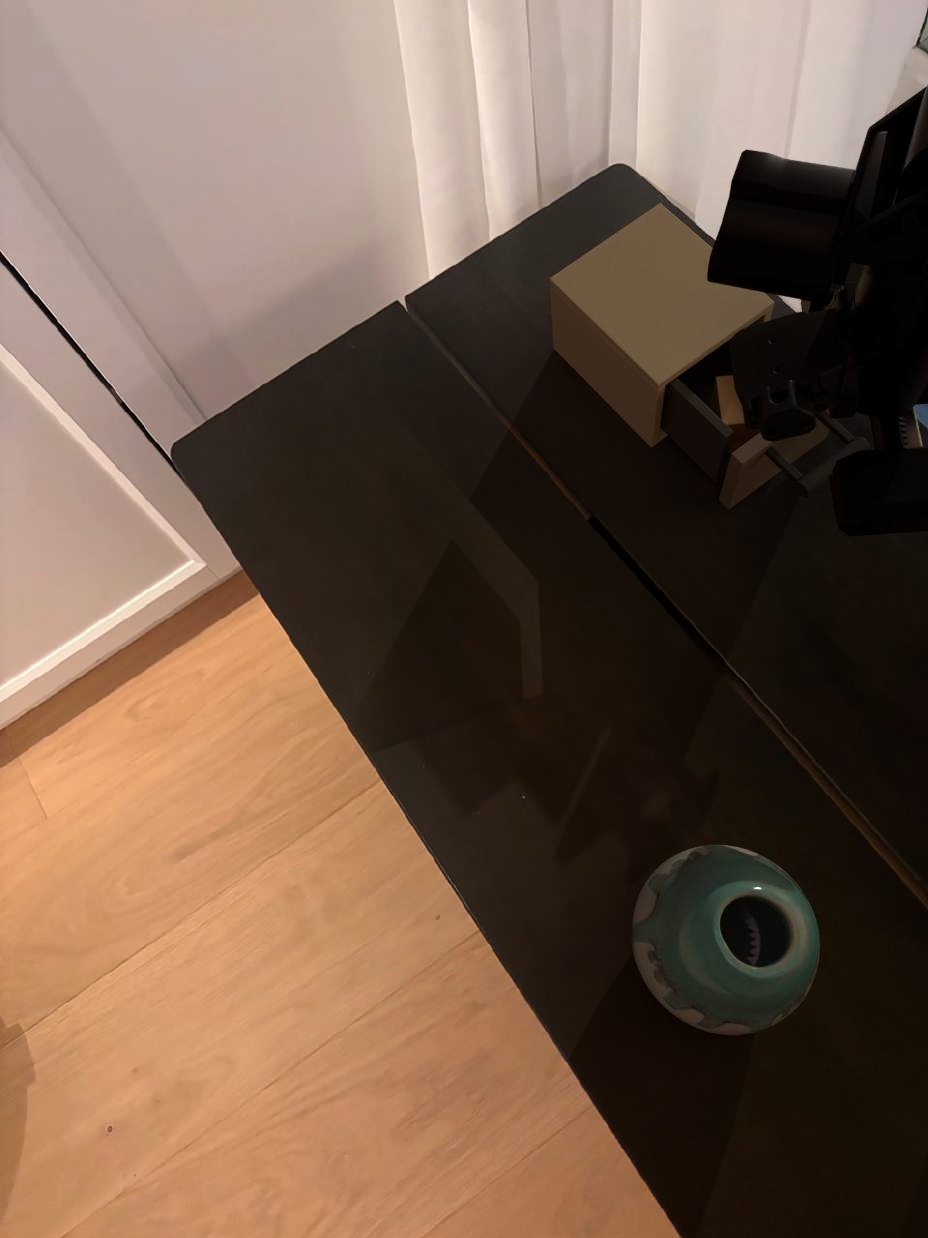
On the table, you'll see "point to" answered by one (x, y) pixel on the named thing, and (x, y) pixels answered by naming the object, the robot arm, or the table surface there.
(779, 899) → the vase
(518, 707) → the table surface
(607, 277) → the beige drawer cabinet
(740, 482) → the pull-out drawer box
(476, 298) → the table surface
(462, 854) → the table surface
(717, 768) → the table surface
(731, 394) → the block
